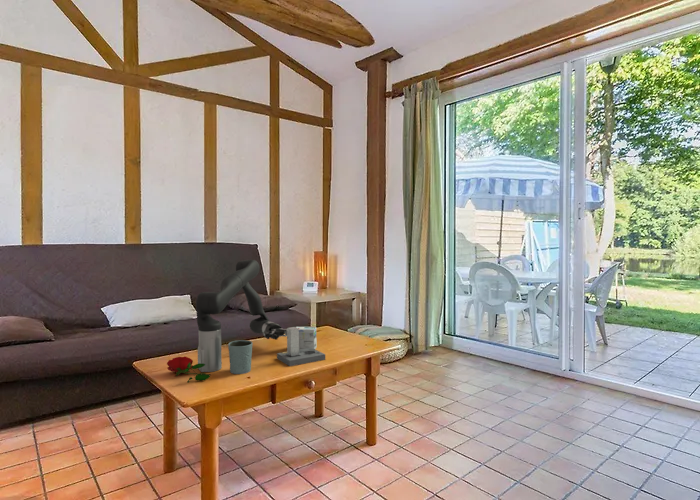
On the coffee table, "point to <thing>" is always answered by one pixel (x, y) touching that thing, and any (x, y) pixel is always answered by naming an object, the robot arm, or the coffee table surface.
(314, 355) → the socket board
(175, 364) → the flower
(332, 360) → the coffee table surface
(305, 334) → the light bulb box
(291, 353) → the square bit
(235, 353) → the green embossed pot
